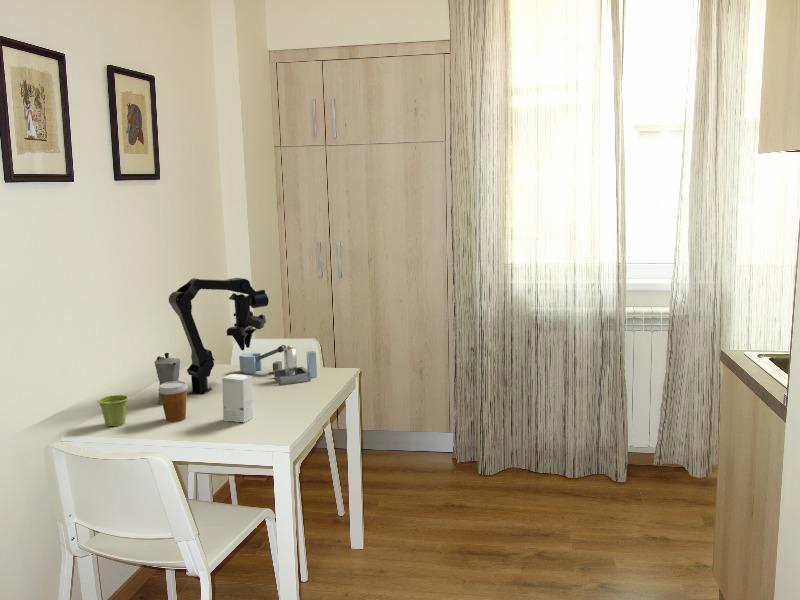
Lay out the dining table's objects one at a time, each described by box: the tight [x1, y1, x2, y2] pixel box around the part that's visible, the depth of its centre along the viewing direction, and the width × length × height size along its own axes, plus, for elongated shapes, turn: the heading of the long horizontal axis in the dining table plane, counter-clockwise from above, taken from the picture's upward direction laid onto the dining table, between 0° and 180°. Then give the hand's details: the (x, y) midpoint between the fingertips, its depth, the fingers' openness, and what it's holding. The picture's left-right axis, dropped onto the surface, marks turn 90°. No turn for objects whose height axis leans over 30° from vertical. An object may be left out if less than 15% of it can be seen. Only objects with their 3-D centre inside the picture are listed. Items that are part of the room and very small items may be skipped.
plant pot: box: [97, 394, 129, 427], centre depth 241 cm, size 9×9×9 cm
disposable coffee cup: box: [157, 380, 189, 423], centre depth 244 cm, size 10×10×12 cm
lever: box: [255, 344, 287, 361], centre depth 301 cm, size 4×14×2 cm, turn 77°
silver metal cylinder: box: [283, 345, 298, 376], centre depth 289 cm, size 5×5×13 cm
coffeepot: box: [154, 352, 181, 405], centre depth 266 cm, size 15×9×18 cm, turn 41°
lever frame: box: [238, 352, 283, 375], centre depth 303 cm, size 7×17×7 cm, turn 77°
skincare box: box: [221, 373, 254, 424], centre depth 240 cm, size 8×6×15 cm
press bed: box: [273, 350, 318, 386], centre depth 290 cm, size 16×12×10 cm
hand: (245, 349), depth 288 cm, fingers open, 4 cm apart
